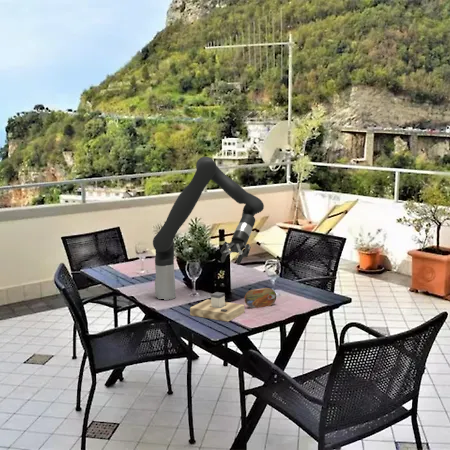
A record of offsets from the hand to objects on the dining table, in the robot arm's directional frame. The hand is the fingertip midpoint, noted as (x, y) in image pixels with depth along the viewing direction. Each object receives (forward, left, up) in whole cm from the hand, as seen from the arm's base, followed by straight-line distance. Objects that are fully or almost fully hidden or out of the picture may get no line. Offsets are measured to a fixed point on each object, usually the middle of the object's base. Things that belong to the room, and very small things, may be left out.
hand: (229, 262), depth 263 cm
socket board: (+2, -16, -20) cm, 25 cm away
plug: (+2, -14, -20) cm, 25 cm away
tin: (+14, +2, -20) cm, 25 cm away
